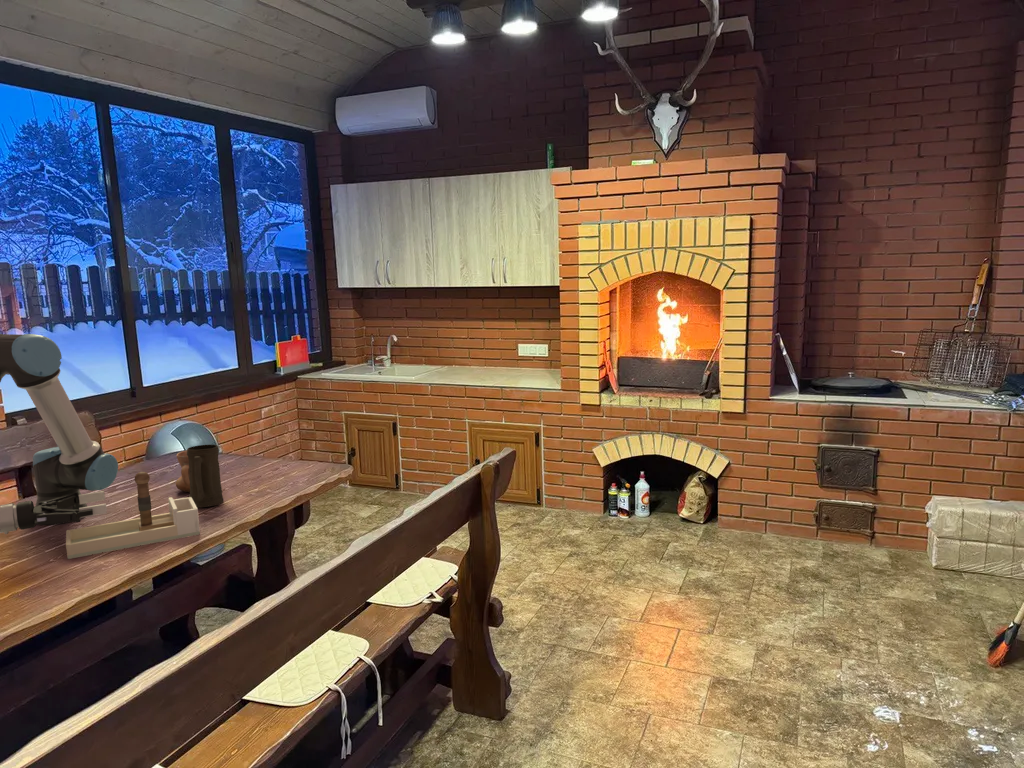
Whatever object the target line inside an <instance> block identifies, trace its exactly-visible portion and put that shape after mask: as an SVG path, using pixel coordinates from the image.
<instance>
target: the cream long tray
mask: <svg viewBox="0 0 1024 768" xmlns="http://www.w3.org/2000/svg"><path fill="white" fill-rule="evenodd" d="M167 504H168V512H165V513H161V514H160V513H159V514H155V515H151V516H152V520H156V519H162V518H168V517H173V520H174V525H172V526H166V527H161V528H155V529H149V530H144V531H139V522H141V520H140V517H137V518H131V519H124V520H120V521H113V522H108V523H102V524H96V525H89V526H84V527H76V528H71V529H67V530H66V533H65V534H66V535H65V548H66V549H65V550H66V556H67V560H70V559H75V558H81V557H86V556H87V557H88V556H92V554H93V555H98V554H103V553H109V552H113V550H114V551H117V550H118V551H119V550H125V549H129V548H135V547H139V546H140V545H141V546H145V545H151V544H156V543H161V542H162V543H163V542H167V541H172V540H173V541H174V540H178V539H183V538H188V536H189V537H192V536H193V535H194V536H198V535H199V534H200V533H201V532H200V530H201V529H200V521H199V518H200V517H199V509H198V507H196V505H195V503H194V501H193V499H192V497H182V498H176V499H174V498H173V497H172V496H171V497H168V503H167ZM200 535H201V534H200ZM194 536H193V537H194ZM150 543H151V544H150ZM124 548H125V549H124ZM102 552H103V553H102Z"/></svg>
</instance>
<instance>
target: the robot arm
mask: <svg viewBox="0 0 1024 768" xmlns="http://www.w3.org/2000/svg"><path fill="white" fill-rule="evenodd" d="M62 356H63V355H62V352H61V349H60V348H59V346H58V344H57V343H56V342H55V341H54V340H52V339H51V338H49V337H47V336H45V335H40V334H35V333H25V334H8V333H0V383H1V382H2V379H3V378H4V377H5V376H6V375H10V377H11V378H12V380H13V382H14V383H15V386H16V387H17V388H20V389H23V390H25V391H26V393H27V395H28V396H29V397H30V399H31V401H32V403H33V404H34V406H35V408H36V410H37V412H38V413H39V415H40V417H41V419H42V420H43V423H44V424H45V426H46V427H47V430H48V431H49V433H50V435H51V437H52V438H53V440H54V442H55V444H56V446H53V447H50V448H46V449H42V450H39V451H37V452H35V453H34V454H33V455H32V468H33V477H34V484H35V489H36V497H37V498H36V501H35V505H34V501H32V500H27V501H26V500H25V501H21V502H17V503H16V504H15V503H7V504H0V534H5V535H8V534H9V533H10V532H14V531H17V530H18V529H20V530H27V529H32V528H35V527H36V526H37V525H41V526H51V525H53V526H54V525H60V524H61V525H62V524H66V523H78V522H81V519H83V518H88V517H94V516H99V515H106V514H108V510H107V503H101V504H96V505H88V504H90V503H97V502H101V501H102V502H103V501H106V494H105V489H107V488H109V487H110V486H112V484H113V483H114V481H115V480H116V479H117V474H118V473H119V463H118V460H117V458H116V456H114V455H113V454H110V453H105V452H104V450H103V449H102V447H101V445H100V443H99V442H97V440H96V441H95V440H92V439H91V438H90V436H89V434H88V432H87V429H86V428H85V426H84V424H83V422H82V420H81V419H80V417H79V415H78V413H77V411H76V409H75V407H74V405H73V403H72V401H71V400H70V398H69V396H68V395H67V392H66V390H65V388H64V387H63V385H62V383H61V381H60V379H59V376H60V373H61V369H60V367H61V365H62V361H61V359H62ZM80 490H84V491H90V493H88V492H87V493H82V494H81V492H80ZM91 491H92V492H91Z"/></svg>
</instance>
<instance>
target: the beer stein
mask: <svg viewBox="0 0 1024 768" xmlns="http://www.w3.org/2000/svg"><path fill="white" fill-rule="evenodd" d="M186 450H187V456H188V460H189V474H190V492H189V497H192V499H193V501H194V503H195V505H196V507H197V508H208V507H213V506H217V505H221V504H222V503H223V502H225V501H224V496H223V489H222V480H221V471H220V470H221V469H220V463H219V452H220V449H219V446H218V444H200V445H194V446H190V447H187V449H186Z"/></svg>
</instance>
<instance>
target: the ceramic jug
mask: <svg viewBox="0 0 1024 768" xmlns="http://www.w3.org/2000/svg"><path fill="white" fill-rule="evenodd" d="M176 460H177V461H178V463H179V465H180V467H181V469H180V470H181V471H180V476H179V477H178V478H177V480H176V481H175V487H176V489H178V490H179V491H181V492H185V493H190V474H189V460H188V456H187V449H186V450H183V451H179V452H178V453H177V454H176Z"/></svg>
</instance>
